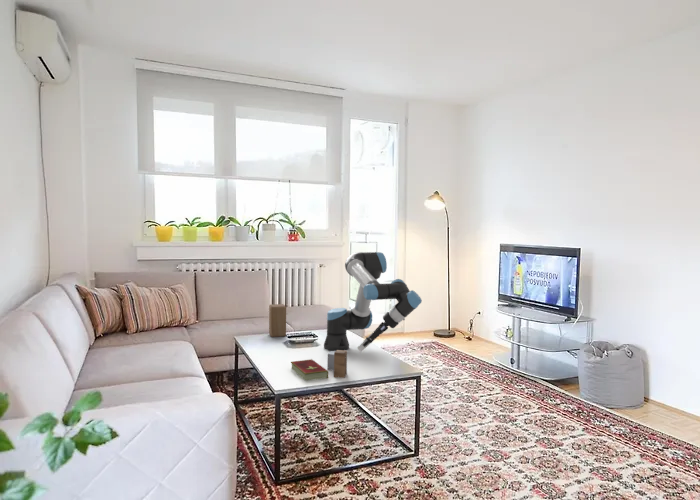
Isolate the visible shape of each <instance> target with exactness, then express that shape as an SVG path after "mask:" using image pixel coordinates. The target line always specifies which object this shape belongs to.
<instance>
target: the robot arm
mask: <svg viewBox="0 0 700 500" xmlns="http://www.w3.org/2000/svg"><path fill="white" fill-rule="evenodd" d="M387 264H388V262H387V258H386V255H385V254H384V253H383V252H380V251H379V252H378V251H374V252H372V251H369V252H368V251H365V252H363V251H359V252H353V253H352V254H350V255H349V256H348V257H347V258H346V259H345V261H344V267H345V271H346V272H347V274H348V275H349V276H351V277H353V278H354V279H355V281H356V282H357V283H359V287H358V291H357V294H356V299H355V303H354V304H352V306H351V309H349V310H348V309H347V308H345V307H335V308H332V309H329V310H328V311H327V313H326V314H327V315H326V316H327V317H326V337H325V338H324V339H325V340H324V343H323V349H324V350H326V351H329V352H330V351H337V350H344V351H348V350H350V343H349V340H348V337H347V331H352V330H353V331H356V330H366V329H369V328H370V327H371V325H372V324H373V323H372V322H373V312H372V311H371V308H370V305H371V302H372V301H376V300H378V301H379V300H396V301H397V302H396V304H395V305H393V306H392V307H391V308H390V309H389V310H388V311H387V312H386V313H385V314H384V315H383V316H382V319H383V321H382V322H381V323H380V324H379V325H378V327H376V328H375V329H374V330H373V332H371V333H370V334H369V335H368V336H366V337H365V339H364V340H363V341H362V342H361V344H360V345H358V346H357V350H358V351H359V352H360V353H362V352H363V351H364V350H365V349H366V348H367V347H369V345H371V344H372V343H373V342H374V341H375V340H376V339H377V338H378V337H379V336H380V335H382V334H383V333H384V332H386V331H387V330H388V329H389V328H391V329H394V328H396V327H398V325H399V323H401V322H402V321H406V318H407V317H408V316H409V315H410V314H411V313H412V312H414V310H415V309H417V308H418V307H419V305H421V304H422V298H421V296H420V295H419V294H418V293H417V292H416V291H414V290H413V289H412V290H410V289H409V287H408V285H407V284H406V282H405V281H404V280H403V279H400V278H397V279H395V280H394V279H393V280H392V281H391V282H390V283H380V282H379V281H378V279H380V277H381V275H382V274H384V273H386V272H387V266H388V265H387Z"/></svg>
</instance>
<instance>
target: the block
mask: <svg viewBox="0 0 700 500" xmlns="http://www.w3.org/2000/svg"><path fill="white" fill-rule="evenodd" d="M268 309H269V310H268V317H269V318H268V333H269V336H270V337H271V338H279V337H280V338H281V337H286V336H287V306H286V305H285V304H284V303H280V304H279V303H277V304H273V303H272V304H269V307H268Z"/></svg>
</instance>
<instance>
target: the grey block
mask: <svg viewBox="0 0 700 500" xmlns="http://www.w3.org/2000/svg"><path fill="white" fill-rule="evenodd" d="M334 352H335V351H330V350H329V352H327V364H326V365H327V366H326V367H327V369H326V370H327V371H334Z"/></svg>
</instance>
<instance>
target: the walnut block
mask: <svg viewBox="0 0 700 500" xmlns="http://www.w3.org/2000/svg"><path fill="white" fill-rule="evenodd" d="M347 362H348V350H337V351H335V352H334V370H333V377H334V378H339V379H340V378H341V379H344V378H345V377H346V376H347V375H348V371H347V369H348V368H347V367H348V364H347Z"/></svg>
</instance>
